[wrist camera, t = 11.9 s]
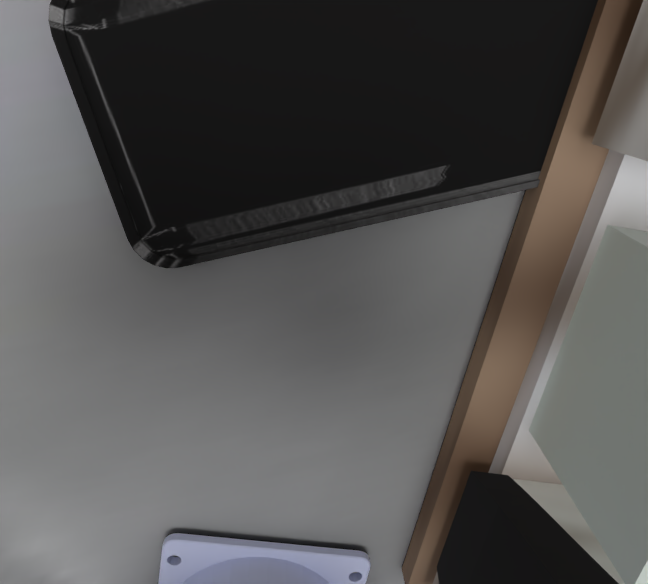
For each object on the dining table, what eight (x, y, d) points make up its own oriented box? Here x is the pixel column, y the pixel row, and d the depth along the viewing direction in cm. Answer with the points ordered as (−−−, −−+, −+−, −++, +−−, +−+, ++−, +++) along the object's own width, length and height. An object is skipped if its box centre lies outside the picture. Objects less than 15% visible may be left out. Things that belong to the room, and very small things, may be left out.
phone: (33, -16, 14) (651, -166, 13) (51, -12, 15) (625, -150, 14) (142, 279, 17) (646, 166, 16) (151, 265, 18) (624, 160, 17)
